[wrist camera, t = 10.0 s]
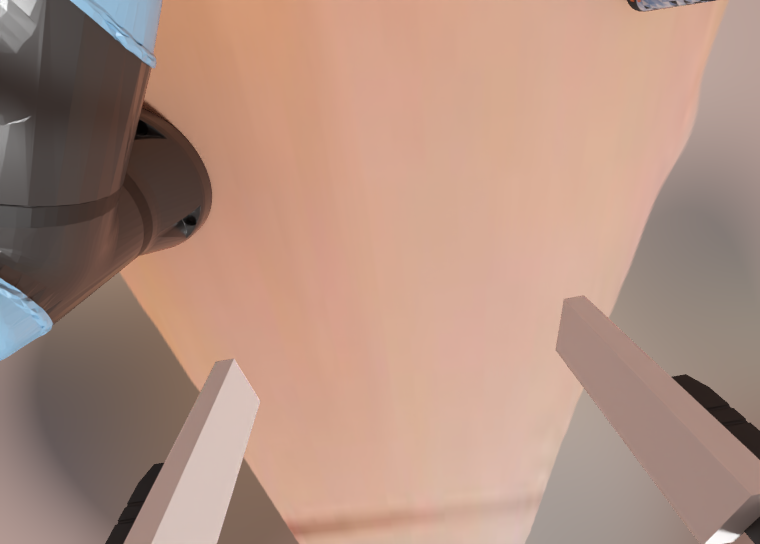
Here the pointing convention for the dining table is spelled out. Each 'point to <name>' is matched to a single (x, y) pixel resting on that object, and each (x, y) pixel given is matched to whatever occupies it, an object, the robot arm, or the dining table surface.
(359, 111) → the dining table surface
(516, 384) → the dining table surface
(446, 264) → the dining table surface
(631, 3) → the beverage can
